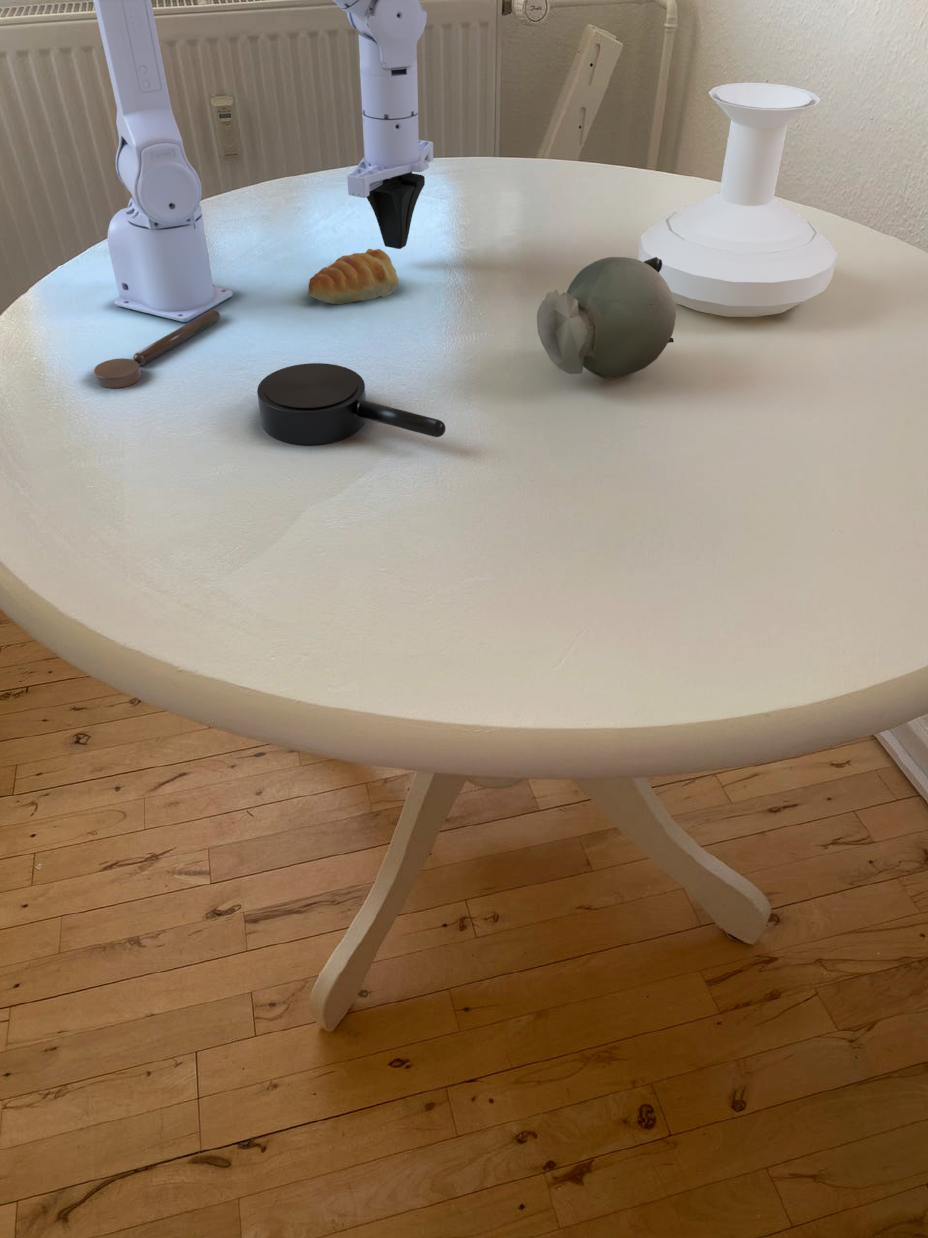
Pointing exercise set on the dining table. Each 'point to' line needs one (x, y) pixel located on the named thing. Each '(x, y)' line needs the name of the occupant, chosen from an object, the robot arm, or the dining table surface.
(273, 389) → the pan
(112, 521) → the dining table surface
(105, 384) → the spoon
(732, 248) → the candle holder
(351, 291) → the pastry
